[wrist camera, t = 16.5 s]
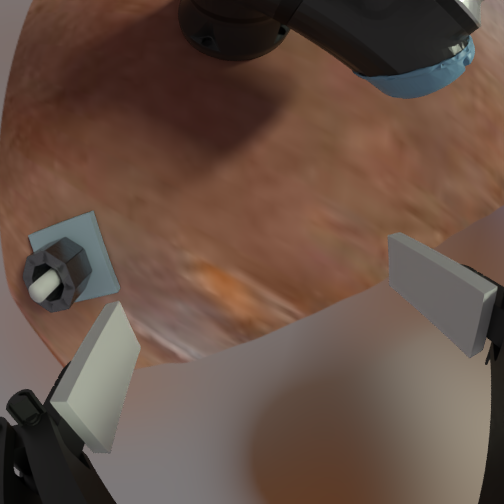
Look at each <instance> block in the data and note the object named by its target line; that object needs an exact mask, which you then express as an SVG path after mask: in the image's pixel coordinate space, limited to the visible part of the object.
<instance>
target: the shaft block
mask: <svg viewBox="0 0 504 504" xmlns="http://www.w3.org/2000/svg"><path fill="white" fill-rule="evenodd" d="M63 237H67V238H69V239H70V240H72V241H74V242H75V243H77V244H78V245H80V246H82V247H83V248H84V249H85V251H86V254H87V257H88V260H89V262H90V265H91V268H92V273H91V276H90V278H89V281H88V284H87V287H86V289H85V290H84V291H83V292H82V294H81V295H80V296H79V297H78V298H77V300H76V301H75V302H78V301H83V300H87V299H92V298H96V297H100V296H105V295H109V294H113V293H117V292H118V291H119V289H120V286H119V283H118V281H117V278H116V275H115V273H114V270H113V267H112V265H111V262H110V259H109V256H108V254H107V251H106V248H105V245H104V242H103V239H102V236H101V233H100V230H99V227H98V224H97V221H96V217H95V214H94V211H90V212H87V213H84V214H82V215H79V216H76V217H73V218H71V219H68V220H65V221H63V222H60V223H57V224H55V225H52V226H50V227H47V228H44V229H42V230H39V231H37V232H34V233H32V234H30V235H29V239H30V242H31V245H32V248H33V251H34V252H35V251H37V250H38V249H40V248H41V247H43V246H44V245H46V244H48V243H49V242H52V241H55V240H57V239H60V238H63ZM60 283H62V279H61V277H60V275H59V272H58V271H57V270H55V269H54V268H51V269H49V270H48V271H47V272H46V273H45V274H43V275H42V276H41V277H40V278H39V279H38V280H36V281H35V282H34V283H33V284H32V285H31V286H30V287H29V294H30V296H31V298H32V299H33V300H34V301H35V302H38V303H41V302H42V301H43V300H44V299H45V298H46V297H47V296H48V295H49V294H50V293H51V292H52V291H53V290H54V289H55V288H56V287H57V286H58V285H59V284H60Z"/></svg>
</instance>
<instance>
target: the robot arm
mask: <svg viewBox="0 0 504 504" xmlns="http://www.w3.org/2000/svg"><path fill="white" fill-rule="evenodd" d="M483 1H484V0H181V1H180V5H179V10H178V18H179V23H180V27H181V30H182V32H183V34H184V36H185V38H186V39H187V41H188V42H189V43H190V44H191V45H192V46H193V47H195V48H196V49H197V50H199V51H200V52H202V53H204V54H206V55H208V56H211V57H214V58H218V59H223V60H231V61H240V60H249V59H253V58H257V57H260V56H263V55H265V54H267V53H269V52H271V51H272V50H274V49H275V48H276V47H277V46H279V45H280V44H281V43H282V41H283V40H284V39H285V37H286V36H287V34H288V33H289V31H290V29H292V30H294V31H295V32H297V33H299V34H300V35H302V36H304V37H305V38H307V39H308V40H310V41H311V42H313V43H315V44H316V45H318V46H319V47H321V48H322V49H324V50H325V51H327V52H328V53H329V54H331V55H332V56H334V57H335V58H336V59H338V60H339V61H341V62H342V63H343V64H345V65H346V66H347V67H349V68H350V69H351V70H352V71H353V73H354V74H355V75H357V76H358V77H360V78H362V79H366V80H367V81H368V82H370V83H371V84H372V85H374V86H375V87H376V88H378V89H379V90H380V91H382V92H383V93H385V94H387V95H389V96H391V97H397V98H403V99H410V98H417V97H421V96H425V95H428V94H431V93H433V92H435V91H437V90H440V89H442V88H444V87H445V86H447V85H448V84H450V83H452V82H453V81H454V80H456V79H457V78H458V77H459V76H460V75H461V74H462V73H463V72H464V71H465V67H464V66H466V65H469V64H471V62H472V60H473V58H474V54H475V47H474V44H473V40H472V38H471V36H470V34H471V33H473V32H474V31H475V30H477V29H478V28H479V27H481V14H480V6H481V2H483ZM388 252H389V286H391V287H392V288H393V289H394V290H395V291H396V292H398V293H399V294H400V295H401V296H402V297H403V298H404V299H406V300H407V301H408V302H409V303H410V304H411V305H413V306H414V307H415V308H416V309H417V310H418V311H419V312H420V313H422V314H423V315H424V316H425V317H426V318H427V319H428V320H429V321H430V322H432V323H433V324H434V325H435V326H436V327H437V328H438V329H439V330H440V331H441V332H442V333H443V334H445V335H446V336H447V337H448V338H449V339H450V340H451V341H452V342H453V343H454V344H455V345H456V346H457V347H459V349H460V350H462V351H463V352H464V353H465V354H466V355H467V356H468V357H469V358H471V357H472V356H474V355H476V354H477V353H479V352H481V351H482V350H483V348H484V344H485V340H486V337H487V338H488V339H489V340H491V341H492V342H491V346H490V349H489V352H488V355H487V358H486V362H485V365H487V364H488V361H489V360H490V362H491V421H490V435H489V444H488V453H487V460H486V467H485V474H484V479H483V484H482V489H481V493H480V498H479V502H478V504H504V287H503V286H501V285H499V284H498V283H496V282H495V281H493V280H491V279H490V278H488V277H486V276H483V274H481V273H479V272H477V271H476V270H474V269H473V268H471V267H469V266H466V265H462V264H459V263H457V262H455V261H453V260H452V259H449V258H448V257H446V256H444V255H443V254H441V253H439V252H437V251H435V250H433V249H432V248H430V247H428V246H426V245H424V244H422V243H420V242H418V241H416V240H415V239H413V238H411V237H409V236H407V235H405V234H403V233H401V232H399V233H395V234H391V235H388ZM140 348H141V347H140V345H139V343H138V341H137V339H136V337H135V334H134V332H133V330H132V328H131V326H130V324H129V321H128V319H127V317H126V315H125V313H124V310H123V308H122V306H121V303H120V301H117V302H113V303H108V304H106V305H105V307H104V308H103V310H102V311H101V313H100V314H99V316H98V318H97V319H96V321H95V322H94V324H93V326H92V327H91V329H90V331H89V332H88V334H87V335H86V337H85V339H84V340H83V342H82V344H81V345H80V347H79V349H78V351H77V352H76V354H75V356H74V358H73V359H72V361H70V362H69V363H68V364H67V365H66V366H65V367H64V368H63V370H62V371H61V373H60V375H59V376H58V379H57V380H56V382H55V384H54V385H55V386H53V387H52V389H51V391H50V393H49V395H48V397H47V399H46V401H45V402H44V404H43V405H42V404H41V403H40V401H39V400H38V398H37V397H36V396H35V394H34V393H33V392H32V390H29V389H24V390H21V391H19V392H17V393H16V394H15V395H13V396H12V397H11V398H10V400H9V401H8V403H7V406H6V410H7V411H8V412H9V414H10V415H11V416H12V417H13V418H14V420H15V421H16V422H17V423H18V425H14V426H11V425H10V424H9V422H7V420H6V419H5V418H4V417H0V504H116V502H115V501H114V499H113V498H112V496H111V495H110V493H109V492H108V490H107V488H106V487H105V485H104V484H103V482H102V480H101V479H100V477H99V476H98V474H97V472H96V470H95V469H94V467H93V465H92V464H91V462H90V460H89V458H88V456H87V455H86V454H85V453H84V452H83V451H82V450H83V447H84V444H86V445H87V446H88V447H89V448H90V449H91V450H92V452H93V453H111V448H112V444H113V441H114V437H115V433H116V429H117V425H118V421H119V418H120V414H121V411H122V407H123V404H124V400H125V397H126V393H127V390H128V386H129V383H130V380H131V377H132V373H133V370H134V367H135V364H136V361H137V358H138V355H139V351H140ZM14 467H15V468H16V469H18V470H19V471H20V476H17V475H16V474H15V472H14Z"/></svg>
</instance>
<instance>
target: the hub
mask: <svg viewBox="0 0 504 504" xmlns="http://www.w3.org/2000/svg"><path fill="white" fill-rule="evenodd" d="M51 268H54V269H55V270H57V271H58V272H59V275H60V277H61V279H62V283H60V284H59V285H58V286H57V287H56V288H55V289H54V290H53V291H52V292H51V293H50V294H49V295H48V296H47V297H46V298H45V299H44V300H43V301H42V302H41V303H38V302H36V303H38V304H39V305H40V306H42V307H43V308H45V309H46V310H48V311H49V312H51V313H52V312H57V311H61V310H66V309H69V308H70V307H71V306H72V304H73V303H74V302H75V301H76V300H77V298H78V297H79V296H80V295H81V294H82V292H83V291H84V290H85V289H86V287H87V284H88V281H89V278H90V276H91V273H92V268H91V265H90V262H89V260H88V257H87V254H86V251H85V249H84V248H83V247H82V246H80V245H78V244H77V243H75V242H74V241H72V240H70V239H69V238H67V237H63V238H60V239H57V240H55V241H52V242H49V243H48V244H46V245H44V246H43V247H41V248H40V249H38V250H37V251H35V252H34V253H32V254H31V255H29V256H28V257H27V260H26V264H25V269H24V273H23V280H24V282H25V284H26V287H27V289H28V291H29V287H30V286H31V285H32V284H33V283H34V282H35V281H36V280H38V279H39V278H40V277H41V276H42V275H43V274H45V273H46V272H47V271H48V270H49V269H51ZM33 301H34V300H33Z"/></svg>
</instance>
